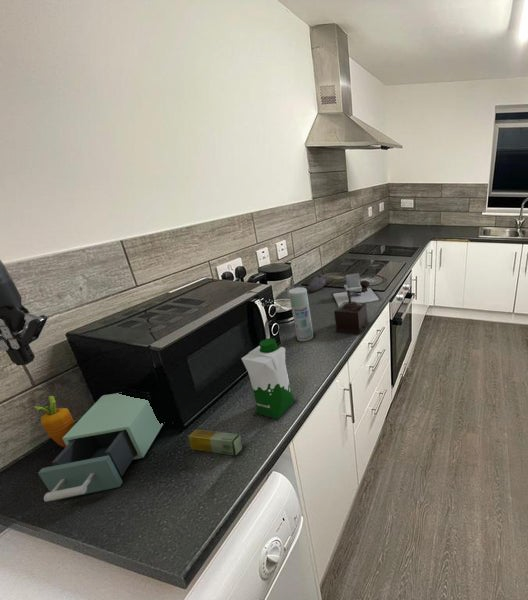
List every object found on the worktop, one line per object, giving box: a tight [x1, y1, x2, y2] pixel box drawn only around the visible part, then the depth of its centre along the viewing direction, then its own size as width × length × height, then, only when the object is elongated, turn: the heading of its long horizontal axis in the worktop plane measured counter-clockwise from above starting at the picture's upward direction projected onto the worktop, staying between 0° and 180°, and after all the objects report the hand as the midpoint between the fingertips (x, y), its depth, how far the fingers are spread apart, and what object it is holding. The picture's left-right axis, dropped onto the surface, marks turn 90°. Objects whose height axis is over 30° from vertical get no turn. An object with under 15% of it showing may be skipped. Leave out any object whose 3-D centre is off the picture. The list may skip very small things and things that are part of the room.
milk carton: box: [240, 337, 295, 420], centre depth 86 cm, size 9×9×20 cm
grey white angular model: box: [332, 272, 381, 307], centre depth 163 cm, size 19×21×12 cm
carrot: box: [34, 395, 76, 448], centre depth 76 cm, size 5×5×15 cm
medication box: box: [188, 429, 243, 456], centre depth 76 cm, size 12×3×4 cm, turn 81°
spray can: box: [288, 286, 314, 342], centre depth 123 cm, size 6×6×20 cm
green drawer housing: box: [62, 392, 164, 461], centre depth 79 cm, size 15×13×10 cm
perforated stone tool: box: [307, 273, 326, 293], centre depth 176 cm, size 15×5×7 cm, turn 158°
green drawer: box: [37, 430, 137, 502], centre depth 69 cm, size 18×11×8 cm, turn 14°
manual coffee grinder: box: [333, 279, 370, 335], centre depth 133 cm, size 16×11×18 cm
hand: (25, 363), depth 65 cm, fingers closed
